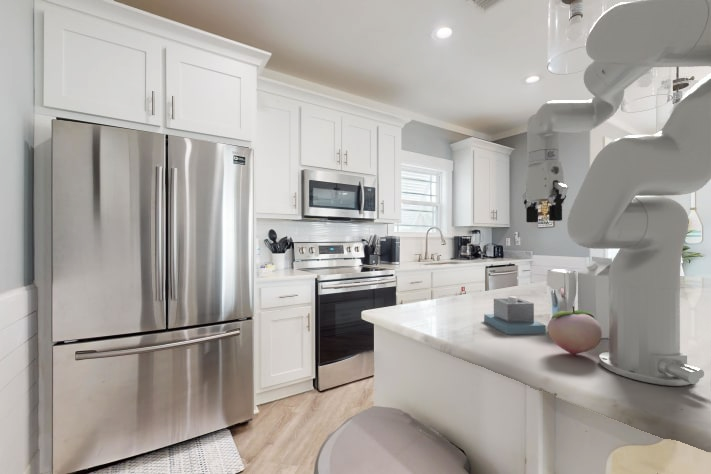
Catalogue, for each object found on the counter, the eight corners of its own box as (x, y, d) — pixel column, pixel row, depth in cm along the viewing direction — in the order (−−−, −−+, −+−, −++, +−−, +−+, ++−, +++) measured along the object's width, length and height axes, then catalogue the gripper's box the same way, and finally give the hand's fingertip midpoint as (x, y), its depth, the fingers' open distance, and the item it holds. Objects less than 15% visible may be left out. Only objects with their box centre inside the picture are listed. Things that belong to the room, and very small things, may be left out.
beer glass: (540, 325, 86) (540, 270, 86) (557, 321, 89) (556, 268, 89) (567, 332, 80) (566, 272, 80) (583, 328, 83) (583, 271, 83)
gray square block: (533, 322, 81) (533, 303, 81) (507, 323, 81) (507, 304, 81) (518, 315, 88) (517, 298, 88) (493, 316, 88) (493, 298, 88)
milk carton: (607, 330, 81) (606, 256, 81) (628, 339, 74) (627, 258, 74) (577, 329, 82) (577, 256, 81) (595, 338, 74) (595, 258, 74)
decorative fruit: (577, 366, 59) (576, 313, 59) (541, 351, 67) (539, 304, 67) (614, 360, 62) (613, 308, 62) (575, 346, 69) (574, 301, 69)
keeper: (545, 333, 79) (545, 301, 79) (507, 334, 78) (506, 302, 78) (517, 320, 91) (517, 292, 91) (484, 321, 90) (484, 293, 90)
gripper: (580, 151, 78) (580, 220, 79) (536, 166, 96) (536, 222, 96) (551, 151, 78) (551, 220, 78) (512, 166, 95) (512, 222, 95)
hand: (543, 221), depth 87 cm, fingers open, 9 cm apart
